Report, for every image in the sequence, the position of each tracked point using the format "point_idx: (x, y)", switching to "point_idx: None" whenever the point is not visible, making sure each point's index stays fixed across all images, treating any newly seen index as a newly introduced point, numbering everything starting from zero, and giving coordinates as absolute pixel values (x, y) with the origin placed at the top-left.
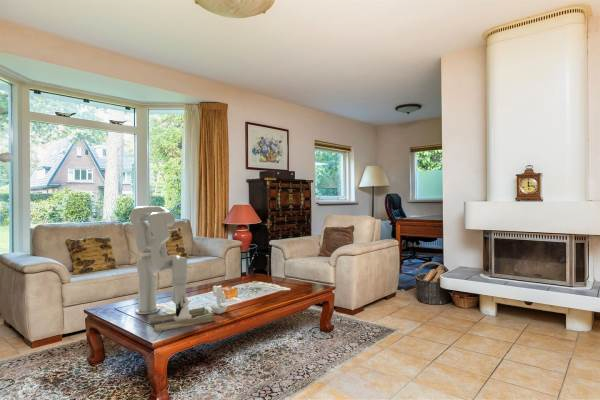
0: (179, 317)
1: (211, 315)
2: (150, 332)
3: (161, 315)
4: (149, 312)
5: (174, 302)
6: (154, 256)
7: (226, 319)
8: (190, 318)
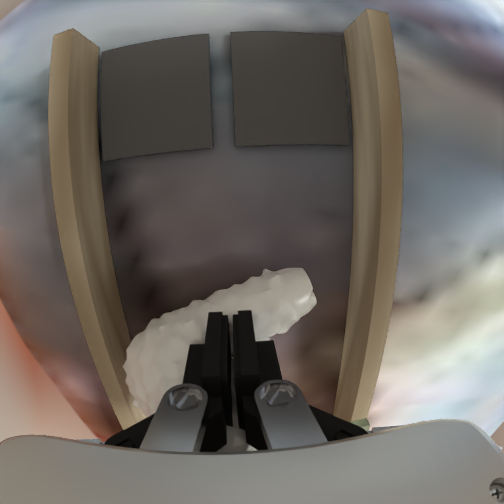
0: (160, 330)
1: None
2: (92, 20)
3: (399, 148)
4: None
5: (149, 463)
6: None
7: None
8: None
